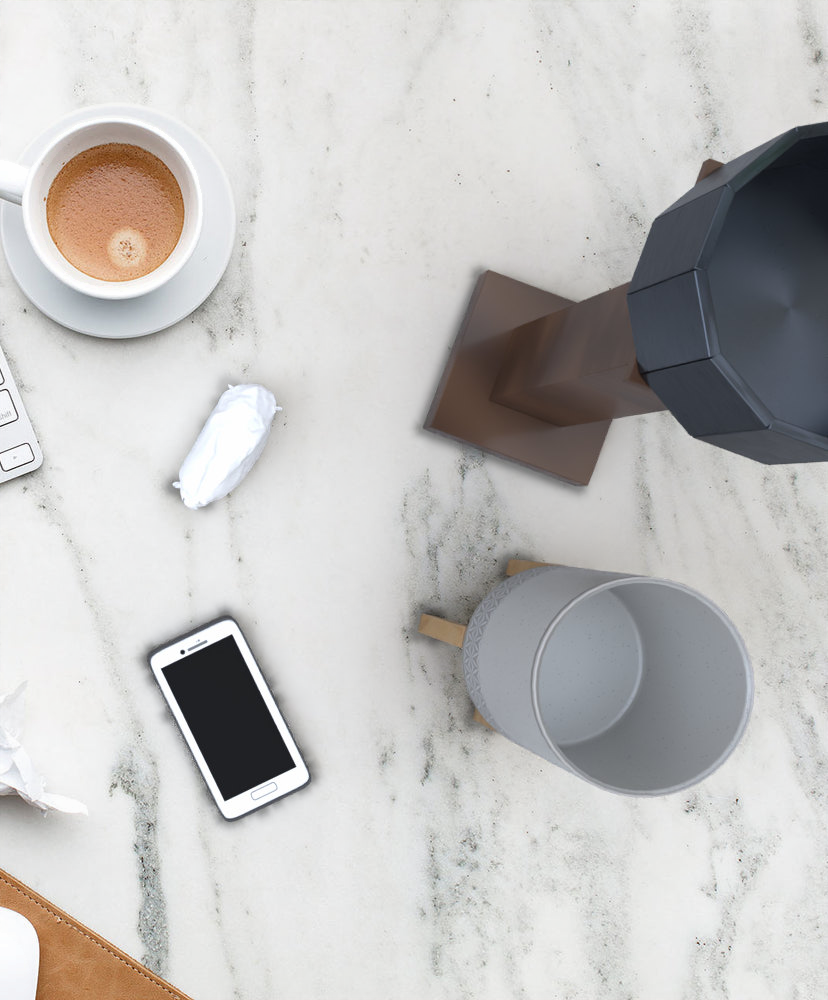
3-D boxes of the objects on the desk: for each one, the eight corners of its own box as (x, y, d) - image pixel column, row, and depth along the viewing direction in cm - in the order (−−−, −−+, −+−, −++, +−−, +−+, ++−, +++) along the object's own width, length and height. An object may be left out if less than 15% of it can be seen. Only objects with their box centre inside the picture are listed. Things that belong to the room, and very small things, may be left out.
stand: (479, 274, 70) (703, 145, 45) (634, 331, 70) (945, 234, 45) (422, 428, 70) (614, 385, 45) (577, 486, 70) (856, 475, 45)
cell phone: (223, 822, 69) (226, 827, 68) (142, 653, 69) (143, 655, 68) (313, 779, 69) (316, 783, 68) (231, 610, 69) (233, 612, 68)
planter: (437, 542, 70) (560, 554, 52) (598, 579, 70) (776, 604, 52) (401, 703, 70) (511, 770, 52) (562, 740, 70) (728, 820, 52)
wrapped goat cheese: (231, 511, 71) (290, 398, 69) (220, 525, 64) (286, 400, 62) (176, 483, 72) (233, 371, 69) (160, 493, 65) (222, 369, 63)
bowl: (691, 116, 45) (768, 68, 40) (973, 222, 45) (1086, 186, 40) (586, 398, 45) (650, 385, 40) (869, 504, 45) (969, 504, 40)
